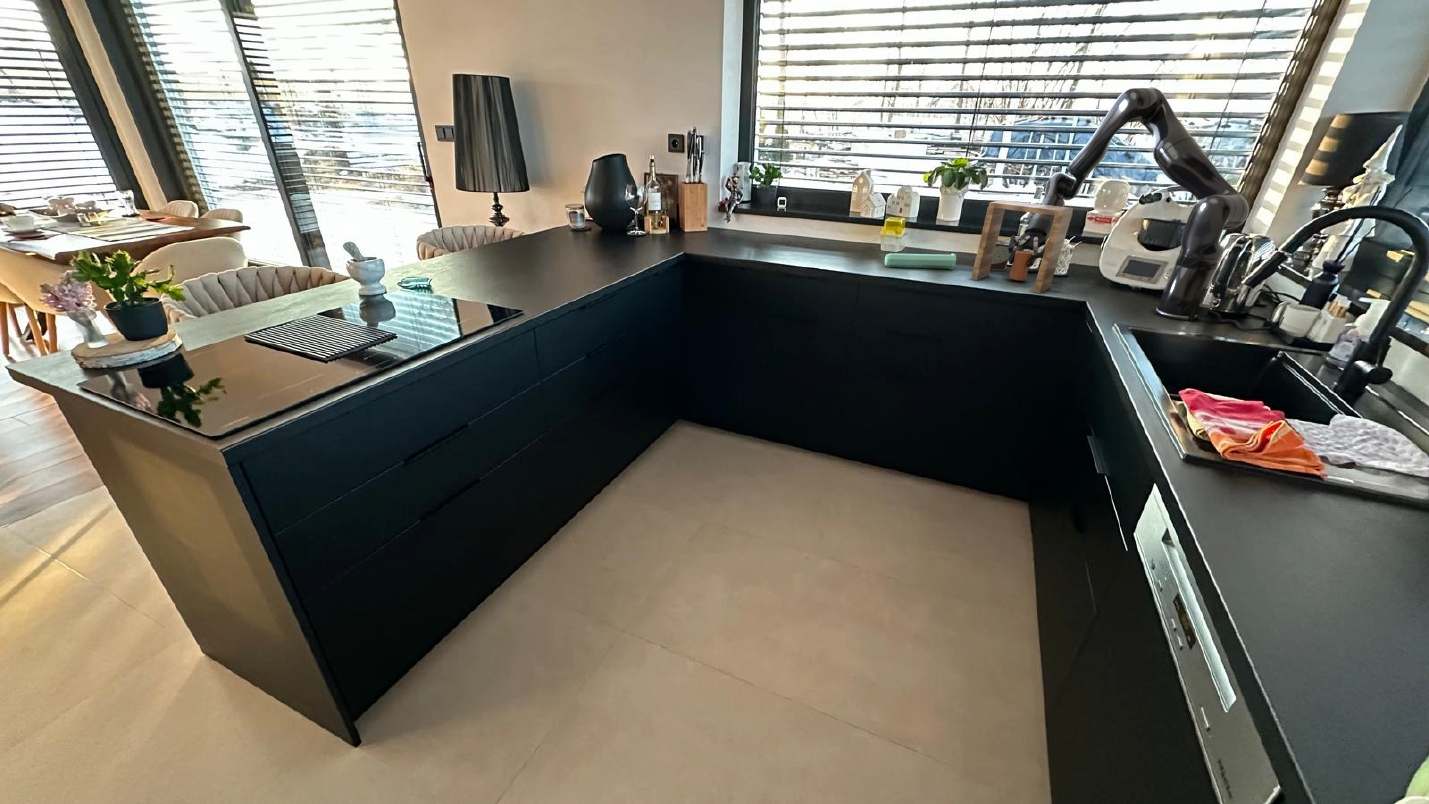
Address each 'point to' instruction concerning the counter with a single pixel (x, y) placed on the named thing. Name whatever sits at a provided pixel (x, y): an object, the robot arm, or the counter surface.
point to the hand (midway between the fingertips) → (1019, 264)
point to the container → (920, 260)
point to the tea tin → (1020, 265)
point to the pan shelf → (1052, 247)
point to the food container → (1000, 255)
